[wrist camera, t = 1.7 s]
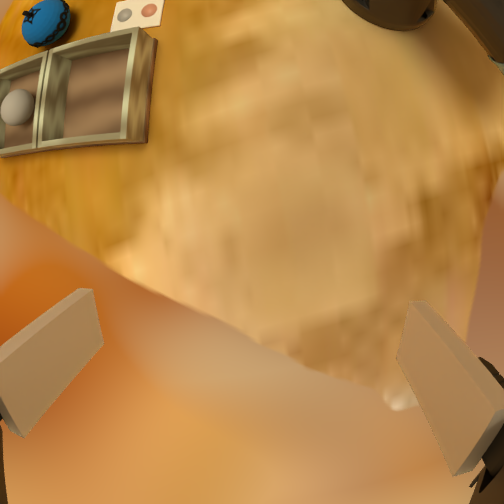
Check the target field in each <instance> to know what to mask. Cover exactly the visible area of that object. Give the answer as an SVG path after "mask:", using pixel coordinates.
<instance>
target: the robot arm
mask: <svg viewBox="0 0 504 504" xmlns="http://www.w3.org/2000/svg"><path fill="white" fill-rule="evenodd" d="M443 1H444V2H445V3H446V4H447V5H448V6H449V7H450V8H451V10H452V11H453V12H454V13H455V14H456V15H457V16H458V17H459V19H460V20H461V21H462V22H463V23H464V24H465V26H466V27H467V28H468V29H469V30H470V32H471V33H472V34H473V35H474V37H475V38H476V39H477V40H478V42H479V43H480V44H481V46H482V47H483V48H484V50H485V51H486V52H487V54H488V57H489V59H490V60H491V61H492V62H493V63H495V64H496V65H497V67H498V68H499V70H500V71H501V72H502V74H503V75H504V0H443ZM343 2H344V3H345V4H346V5H347V6H348V7H349V8H350V9H351V10H353V11H354V12H355V13H356V14H358V15H359V16H361V17H362V18H364V19H366V20H367V21H369V22H371V23H373V24H376V25H378V26H381V27H384V28H387V29H392V30H400V31H406V30H413V29H416V28H418V27H420V26H422V25H423V24H424V23H425V22H427V21H428V20H429V19H430V18H431V16H432V15H433V13H434V11H435V8H436V4H437V0H343ZM103 344H104V341H103V337H102V333H101V328H100V323H99V319H98V314H97V309H96V304H95V299H94V293H93V289H85V288H78V289H77V290H76V291H74V292H73V293H71V294H70V295H68V296H67V297H66V298H64V299H63V300H61V301H60V302H59V303H57V304H56V305H55V306H53V307H52V308H50V309H49V310H48V311H46V312H45V313H44V314H42V315H41V316H40V317H38V318H37V319H36V320H34V321H33V322H31V323H30V324H29V325H27V326H26V327H25V328H24V329H22V330H21V331H20V332H19V333H17V334H16V335H14V336H13V337H12V338H11V339H9V340H8V341H7V342H5V343H4V344H3V345H2V346H0V421H1V420H2V419H3V420H4V421H5V423H6V425H7V426H8V428H9V430H10V431H12V432H14V433H16V434H17V435H19V436H21V437H23V438H25V437H26V435H27V434H28V433H29V432H30V430H31V429H32V428H33V427H34V425H35V424H36V423H37V422H38V420H39V419H40V418H41V417H42V416H43V414H44V413H45V412H46V410H47V409H48V408H49V407H50V406H51V405H52V403H53V402H54V401H55V400H56V399H57V397H58V396H59V395H60V394H61V393H62V392H63V390H64V389H65V388H66V387H67V386H68V384H69V383H70V382H71V381H72V380H73V379H74V378H75V376H76V375H77V374H78V373H79V372H80V371H81V369H82V368H83V367H84V366H85V365H86V364H87V363H88V361H89V360H90V359H91V358H92V357H93V356H94V354H95V353H96V352H97V351H98V350H99V349H100V348H101V347H102V346H103ZM396 359H397V361H398V363H399V365H400V367H401V369H402V370H403V372H404V374H405V376H406V378H407V380H408V382H409V384H410V386H411V388H412V390H413V392H414V394H415V396H416V398H417V400H418V402H419V404H420V406H421V408H422V410H423V412H424V414H425V416H426V418H427V420H428V423H429V425H430V427H431V429H432V431H433V433H434V435H435V438H436V440H437V442H438V444H439V446H440V448H441V451H442V453H443V455H444V457H445V460H446V462H447V465H448V467H449V469H450V472H451V474H452V476H453V477H454V476H457V475H460V474H463V473H466V472H469V471H472V470H473V469H474V468H475V466H476V465H477V464H478V462H479V461H480V460H481V458H482V459H483V461H484V463H485V467H484V468H483V469H482V470H481V471H480V473H479V474H478V475H477V477H476V478H475V479H474V480H473V481H472V483H471V484H470V486H469V487H473V485H474V484H475V483H476V482H477V484H476V487H475V490H474V493H473V495H472V498H471V500H470V503H469V504H504V378H503V377H502V376H501V375H499V372H498V371H497V370H496V369H495V367H494V366H493V365H492V364H491V363H489V362H488V361H486V360H484V359H483V358H481V357H477V356H476V355H475V354H474V353H473V352H472V351H471V349H470V348H469V347H468V346H467V345H466V344H465V343H464V341H463V340H462V339H461V338H460V337H459V336H458V335H457V334H456V333H455V331H454V330H453V329H452V328H451V327H450V326H449V325H448V324H447V323H446V322H445V321H444V319H443V318H442V317H441V316H440V315H439V314H438V313H437V312H436V311H435V310H434V309H433V308H432V307H431V306H430V305H429V304H428V303H427V302H426V301H410V302H409V306H408V311H407V316H406V321H405V325H404V329H403V333H402V338H401V342H400V346H399V349H398V353H397V357H396ZM2 442H3V441H2V429H1V426H0V504H8V501H7V494H6V485H5V477H4V464H3V443H2Z"/></svg>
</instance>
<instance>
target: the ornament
mask: <svg viewBox="0 0 504 504" xmlns="http://www.w3.org/2000/svg"><path fill="white" fill-rule="evenodd" d="M22 15H25V18H24V20H23V24H22V34H23V37H24V39H25V40H26V41H27V43H29V45H31V46H34V47H37V48H38V47H41V46H46V45H49V44H51V43H53V42H55V41H56V40H58V39H59V38H60V37H61V36H62V35H63V34H64V33H65V31H66V30H67V28H68V26H69V23H70V16H71V15H70V10H69V5H68V4H67V3H66V2H65V1H64V0H44V1H42V2H39V3H38V4H36V5H35V6H33V7H32V8H31V9H30V10H29V11H24V12H23V13H22Z"/></svg>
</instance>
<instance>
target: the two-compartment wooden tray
mask: <svg viewBox="0 0 504 504" xmlns="http://www.w3.org/2000/svg"><path fill="white" fill-rule="evenodd" d="M157 42H158V40H157V39H155V38H153V39H152V38H151V37H150V36H149V35H148V34H147V33H146V32H145V31H144V30H143V29H141V28H140V27H139V26H138V27H133V28H128V29H123V30H118V31H113V32H109V33H105V34H100V35H96V36H92V37H89V38H85V39H81V40H78V41H75V42H71V43H68V44H65V45H62V46H59V47H56V48H53V49H50V51H49V50H47V51H44V52H41V53H39V54H36V55H33V56H31V57H28V58H26V59H23V60H21V61H18V62H16V63H14V64H11V65H9V66H7V67H5V68H3V69H0V157H1V158H5V157H11V156H17V155H23V154H30V153H37V152H44V151H52V150H60V149H69V148H79V147H90V146H102V145H117V144H135V143H148V127H149V114H150V102H151V91H152V82H153V73H154V64H155V57H156V49H157ZM16 89H25V90H27V91H29V92H30V93H31V94H32V96H33V98H34V110H33V113H32V115H31V116H30V118H29V119H28V120H27V121H26V122H25V123H23V124H21V125H18V126H10V125H8V124H6V123H5V122H4V121H3V119H2V117H1V105H2V102H3V100H4V98H5V97H6V96H7V95H8V94H9V93H10V92H12V91H14V90H16Z"/></svg>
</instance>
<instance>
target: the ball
mask: <svg viewBox="0 0 504 504" xmlns="http://www.w3.org/2000/svg"><path fill="white" fill-rule="evenodd" d="M33 110H34V98H33V96H32V94H31V93H30V92H29V91H27V90H25V89H16V90H14V91H12V92H10V93H9V94H8V95H7V96H6V97H5V98H4V100H3V102H2V105H1V117H2V119H3V121H4V122H5V123H6V124H8V125H10V126H18V125H21V124H23V123H25V122H26V121H27V120H28V119H29V118H30V116H31V115H32V113H33Z"/></svg>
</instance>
